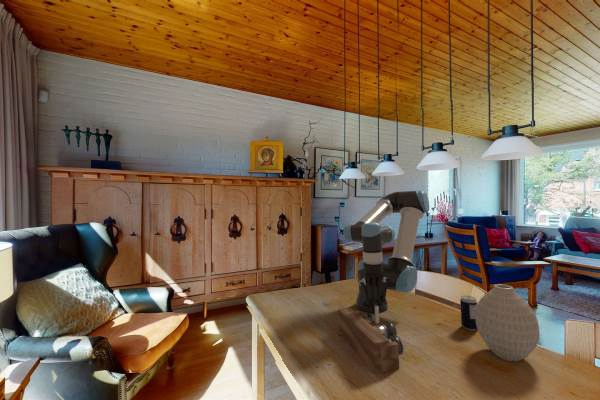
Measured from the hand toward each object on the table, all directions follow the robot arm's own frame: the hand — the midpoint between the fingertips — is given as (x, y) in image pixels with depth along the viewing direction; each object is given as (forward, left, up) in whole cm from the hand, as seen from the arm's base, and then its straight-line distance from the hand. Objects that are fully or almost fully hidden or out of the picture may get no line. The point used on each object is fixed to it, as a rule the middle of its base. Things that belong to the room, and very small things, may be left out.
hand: (375, 321), depth 102 cm
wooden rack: (+9, +9, -4) cm, 13 cm away
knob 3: (+7, +18, -2) cm, 20 cm away
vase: (-31, +27, -4) cm, 42 cm away
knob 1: (+7, 0, -2) cm, 8 cm away
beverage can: (-36, +9, -4) cm, 38 cm away
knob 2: (+3, +9, -2) cm, 10 cm away
